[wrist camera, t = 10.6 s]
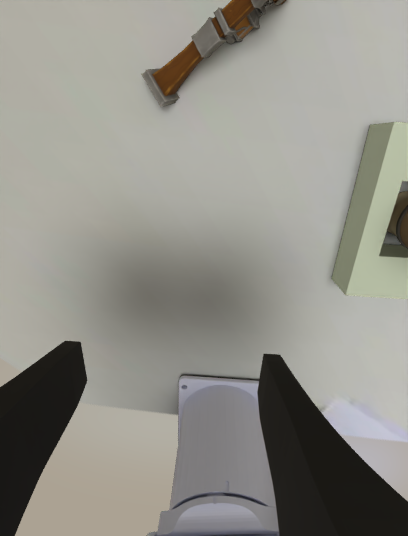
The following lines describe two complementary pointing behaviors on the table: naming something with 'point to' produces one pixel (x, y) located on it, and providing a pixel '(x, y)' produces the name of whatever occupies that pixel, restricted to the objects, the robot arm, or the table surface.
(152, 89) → the wooden post with brackets
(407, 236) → the peg
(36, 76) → the table surface
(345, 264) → the board
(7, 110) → the table surface
